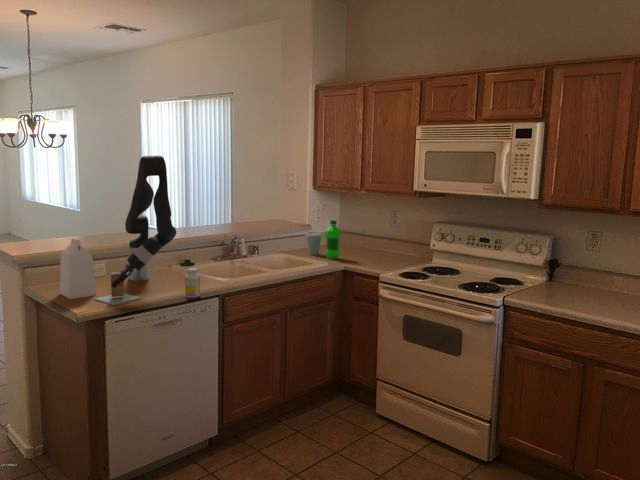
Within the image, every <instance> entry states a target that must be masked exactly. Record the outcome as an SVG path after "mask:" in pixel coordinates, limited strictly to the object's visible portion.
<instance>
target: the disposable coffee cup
mask: <svg viewBox="0 0 640 480" xmlns="http://www.w3.org/2000/svg"><path fill="white" fill-rule="evenodd" d="M305 238H306V244H307V251H308V254H309V256H317V255H319V252H320V247H321V240H322V234H321V233H320V232H318V231H308V232H306V234H305Z"/></svg>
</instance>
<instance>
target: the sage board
mask: <svg viewBox="0 0 640 480" xmlns="http://www.w3.org/2000/svg"><path fill="white" fill-rule="evenodd" d="M141 298H142V297H139V296H136V295H132V294H128V293H125V292H124V296H117V297H112V294H109V295H104V296H100V297H99V296H98V297H96V298H95V297H94V298H93V301H96V302H101V303H104V304H108V305H112V306H116V305H120V304H121V305H122V304H124V303H129V302H133V301H138V300H141Z"/></svg>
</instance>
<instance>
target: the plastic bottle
mask: <svg viewBox="0 0 640 480" xmlns="http://www.w3.org/2000/svg"><path fill="white" fill-rule="evenodd" d="M337 221H338V220H334V219H333V220H330V221H329V224H330V226H329V227H327V228H326V229H325V233H324V234H325V235H324V236H325V237H326V249H325V252H324V255H325V256H326V258H328V259H329V260H336V259H337V258H339V256H340V253H341V252H340V250H339V249H340V248H339V243H340V242H339V241H340V238H341V235H342V233H341V232H342V231H341V229H339V228H338V227H337Z"/></svg>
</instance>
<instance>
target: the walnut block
mask: <svg viewBox="0 0 640 480" xmlns="http://www.w3.org/2000/svg"><path fill="white" fill-rule="evenodd" d="M120 273H121V272H120V271H111V273H110V291H111V294H110V295H112V297H117V296H124V293H125V291H124V290H125V288H124V287H125V286H124V285H125V284H124V283H125V282H124V281H123V282H120V283H119V284H118V285H117V286H116V287H115V288H113V287H112V286H111V284H112V283H113V282H114V281H115V280H116V279H117V277H119V276H120ZM121 278H122V279H123V276H122V277H121Z"/></svg>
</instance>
